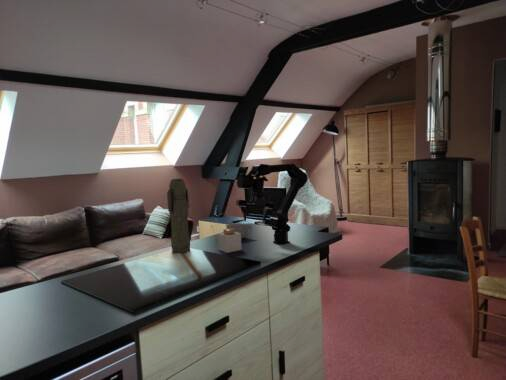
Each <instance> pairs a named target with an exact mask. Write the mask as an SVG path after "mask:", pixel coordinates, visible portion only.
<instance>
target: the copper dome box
mask: <svg viewBox="0 0 506 380" xmlns="http://www.w3.org/2000/svg"><path fill="white" fill-rule="evenodd" d="M217 242H218V243H217V246H218V250H219V251H221V252H223V253H227V254H228V253H233V252H238V251H242V239H241V233H237V232H235V233H234V234H223V232H219V233H217Z"/></svg>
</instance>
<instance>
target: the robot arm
mask: <svg viewBox="0 0 506 380" xmlns="http://www.w3.org/2000/svg"><path fill="white" fill-rule="evenodd" d="M279 172H280V173H281V172H283V173H284V172H287V175H288V176H289V178H290V179H289V180H290V181H289V183H290V184H289V185H290V186H289V188H288V190H287V192H286V193H285V196H284V198H283V200H282V201H281V204H280V205H279V208H278V210H277V211H273V210H274V209H275V210H276V208H277V205H276V202H270V201H271V197H270V195H265V193H264V188H265V182H268V181H269V179H268V178H267V177H266V176H267V175H269V174H272V173H273V174H274V173H279ZM308 180H309V177H308V175H307V172H304V171H303V170H302V169H301V168H299V167H298V166H297V165H296V164H295V163H293V162H286V163H282V164H268V163H267V164H266V163H265V164H264V163H255V164H253V165H252V166H251V170H250V171H249V172H248V173H247V174H246V173H239V176H238V177H237V180H236V186H237V187H238V189H244V190H245V189H248V190H250V189H251V190H250V199H249V201H248V200H246V199H240V198H239V199H236V201H235V205H236V206H238V208H240V211H241V214H242V218H243V220H244V222H246V221H247V209H248V206H252V207H263V212H262V223H265V221H266V219H267V217H268V214H269V213H270V212H271V211H272V212H271V216H270V217H269V225H270V227H271V228H272V229H271V230H272V231H273V232H274V233H273V241H272V243H273V244H277V245H284V244H285V245H286V244H290V243H291V241H289V232H291V229H292V227H291V226H290V225H289V224H288V213H289V211H290V209H291V207H292V205H293V203H294V201H295V199H296V197H297V195H298V193H299V191H300V189H302V188H303V187H304V186H305V185H306V183H307V182H308Z"/></svg>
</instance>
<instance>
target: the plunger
mask: <svg viewBox="0 0 506 380" xmlns="http://www.w3.org/2000/svg"><path fill="white" fill-rule="evenodd" d="M222 233H223V234H234V233H235V229H227V228H224V229H223V231H222Z"/></svg>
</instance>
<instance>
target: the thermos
mask: <svg viewBox="0 0 506 380" xmlns="http://www.w3.org/2000/svg"><path fill="white" fill-rule="evenodd" d="M186 186H187V185H186V182H185V179H182V178H172V179H170V182H169V187H168V188H169V189H168V190H167V192H166V196H167V199H166V200H167V209H168V212H169V218H170V224H171V225H170V227H171V237H170V242H171V243H170V244H171V251H172V252H173V253H172V252H171V253H172V254H175V253H182V254H187V253H190V252H191V236H190V233H189V220H188V218H189V217H188V216H189V208H190V200H189V190H188V188H186Z"/></svg>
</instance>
